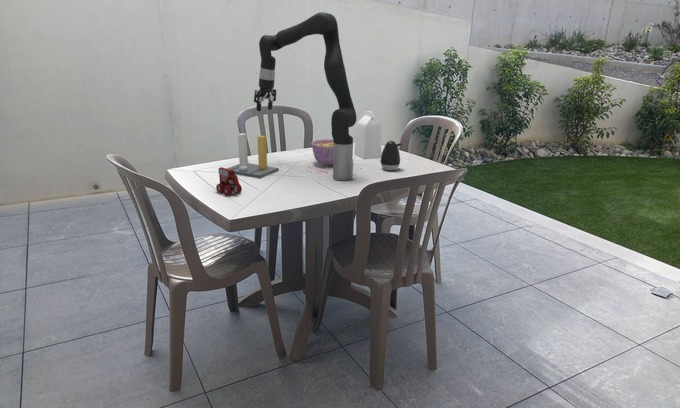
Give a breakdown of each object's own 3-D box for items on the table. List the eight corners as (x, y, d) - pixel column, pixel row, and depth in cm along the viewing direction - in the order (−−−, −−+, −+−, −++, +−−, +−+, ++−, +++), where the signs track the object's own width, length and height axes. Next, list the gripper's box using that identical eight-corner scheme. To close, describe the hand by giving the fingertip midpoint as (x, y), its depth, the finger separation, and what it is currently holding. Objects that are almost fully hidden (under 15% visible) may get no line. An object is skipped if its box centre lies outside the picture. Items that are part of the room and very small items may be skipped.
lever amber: (267, 167, 219) (266, 136, 214) (263, 169, 217) (262, 137, 211) (262, 166, 220) (261, 135, 215) (258, 168, 218) (257, 136, 213)
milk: (354, 154, 258) (355, 110, 249) (371, 153, 262) (373, 109, 254) (363, 159, 247) (365, 113, 239) (381, 157, 252) (383, 112, 243)
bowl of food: (349, 160, 244) (350, 140, 240) (346, 169, 225) (347, 147, 221) (314, 159, 246) (314, 138, 242) (308, 168, 227) (308, 146, 223)
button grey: (249, 170, 215) (249, 166, 215) (244, 172, 212) (243, 168, 211) (242, 169, 217) (242, 165, 216) (237, 171, 213) (237, 167, 213)
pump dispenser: (397, 173, 221) (399, 143, 216) (377, 170, 224) (379, 141, 219) (401, 168, 230) (403, 139, 225) (382, 166, 233) (384, 138, 228)
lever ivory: (248, 164, 224) (246, 133, 219) (244, 166, 222) (242, 134, 216) (243, 164, 225) (241, 133, 220) (239, 165, 223) (237, 134, 217)
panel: (278, 170, 221) (278, 167, 220) (259, 178, 207) (259, 175, 207) (243, 165, 230) (243, 162, 229) (223, 172, 216) (223, 169, 216)
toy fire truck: (231, 197, 180) (230, 173, 177) (214, 191, 188) (212, 168, 184) (245, 194, 185) (243, 170, 182) (227, 188, 193) (225, 165, 189)
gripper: (263, 80, 209) (260, 113, 215) (281, 79, 220) (278, 110, 227) (251, 76, 212) (249, 109, 218) (270, 76, 224) (267, 107, 230)
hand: (264, 110), depth 223 cm, fingers open, 8 cm apart
